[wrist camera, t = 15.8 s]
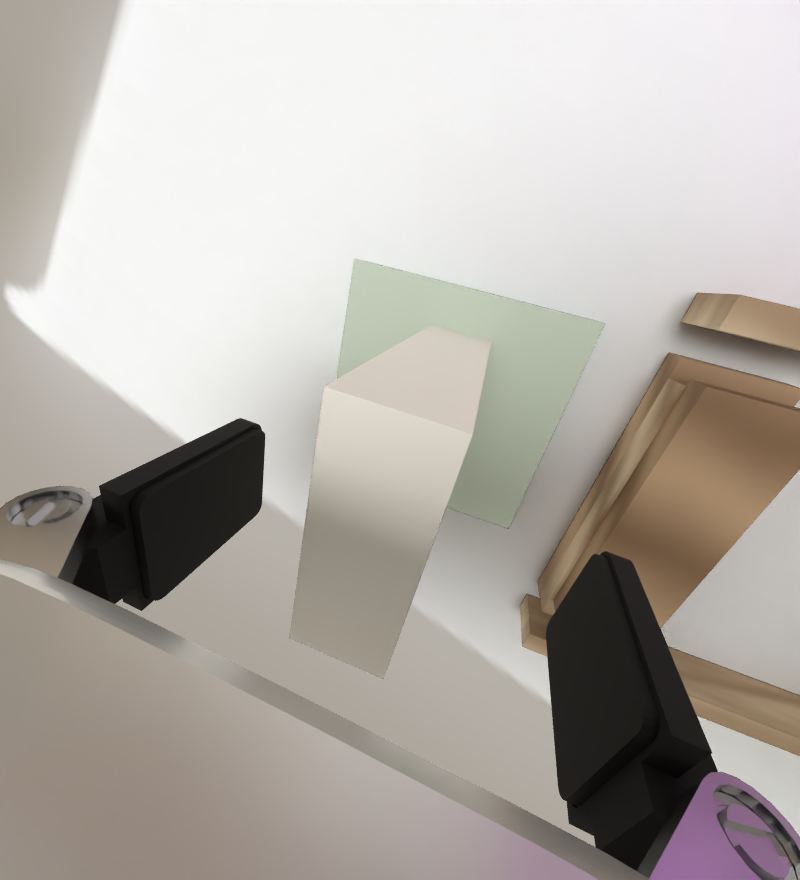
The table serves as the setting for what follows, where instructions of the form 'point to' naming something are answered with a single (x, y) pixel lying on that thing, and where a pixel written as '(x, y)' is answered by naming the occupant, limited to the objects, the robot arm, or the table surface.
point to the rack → (707, 685)
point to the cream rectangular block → (383, 490)
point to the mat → (506, 377)
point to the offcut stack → (683, 480)
